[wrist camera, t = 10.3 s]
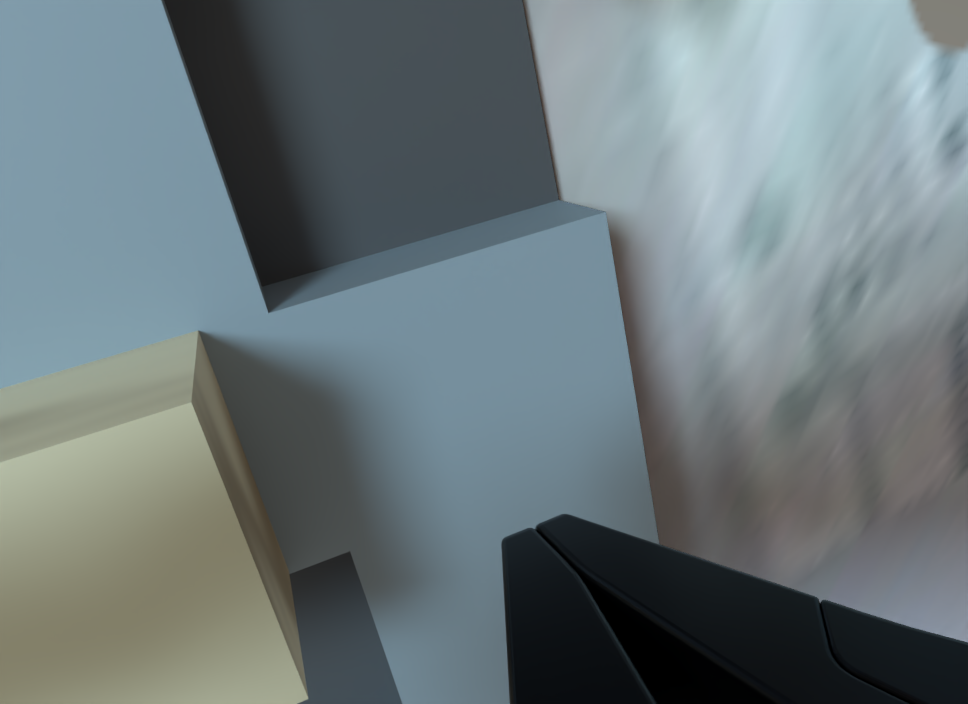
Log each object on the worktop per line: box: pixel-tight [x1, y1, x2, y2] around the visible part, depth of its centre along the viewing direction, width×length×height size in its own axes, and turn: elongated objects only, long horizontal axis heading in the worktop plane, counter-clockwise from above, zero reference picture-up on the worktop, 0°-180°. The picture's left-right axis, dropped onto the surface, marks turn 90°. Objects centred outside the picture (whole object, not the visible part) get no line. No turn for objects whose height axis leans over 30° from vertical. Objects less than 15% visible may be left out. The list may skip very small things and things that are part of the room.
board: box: [0, 0, 659, 704], centre depth 14 cm, size 26×14×5 cm, turn 13°
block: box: [0, 331, 308, 704], centre depth 11 cm, size 5×5×4 cm
